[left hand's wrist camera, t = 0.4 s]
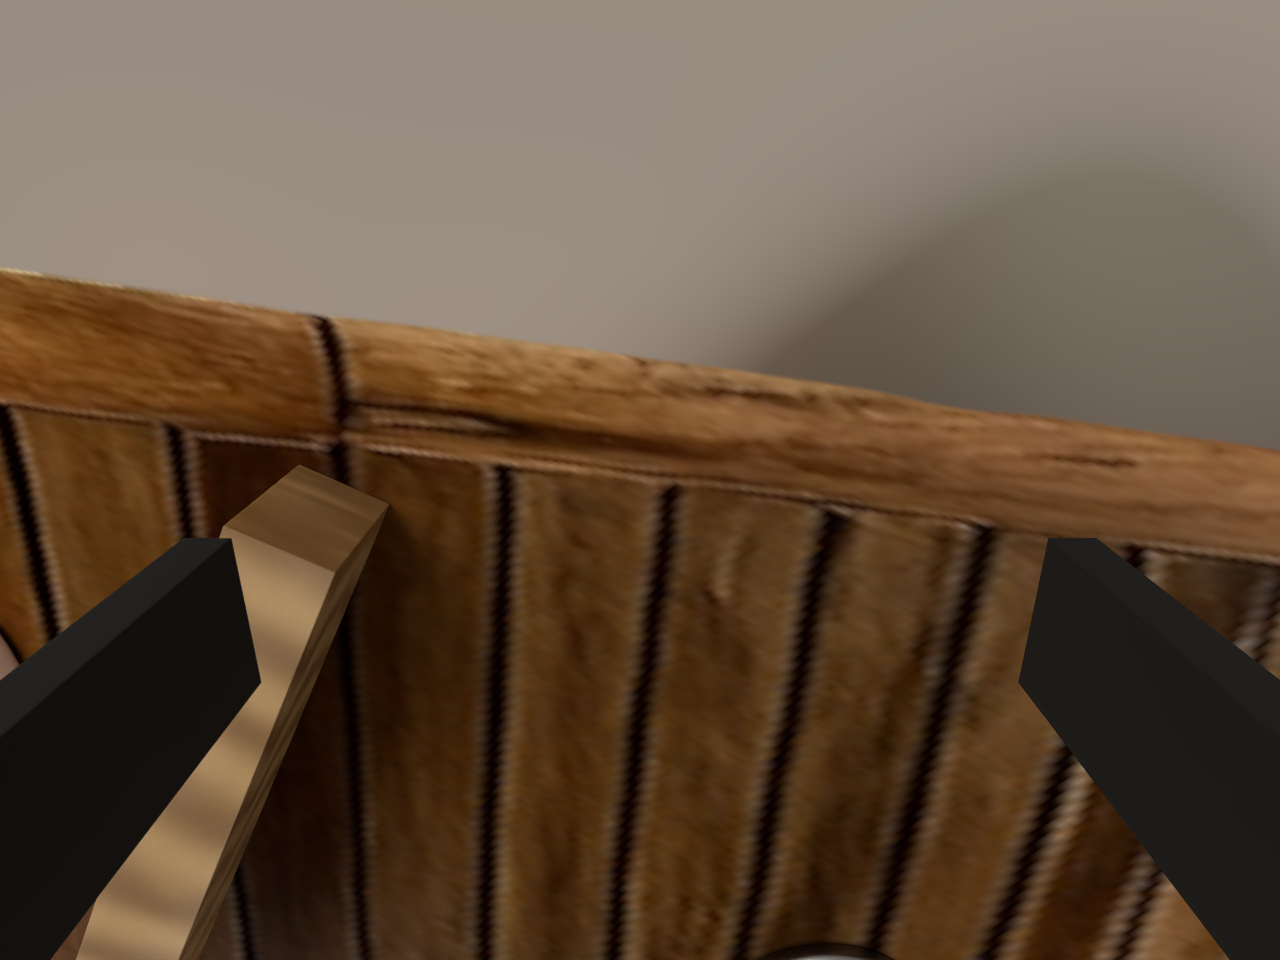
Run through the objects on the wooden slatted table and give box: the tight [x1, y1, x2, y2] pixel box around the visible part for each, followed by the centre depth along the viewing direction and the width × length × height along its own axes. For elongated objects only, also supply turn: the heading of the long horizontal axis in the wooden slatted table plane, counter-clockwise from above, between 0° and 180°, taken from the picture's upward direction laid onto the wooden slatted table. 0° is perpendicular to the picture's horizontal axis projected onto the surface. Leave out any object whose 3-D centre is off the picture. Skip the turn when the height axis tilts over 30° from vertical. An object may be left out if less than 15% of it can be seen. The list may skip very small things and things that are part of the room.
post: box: [76, 465, 389, 960], centre depth 45 cm, size 53×5×8 cm, turn 153°
